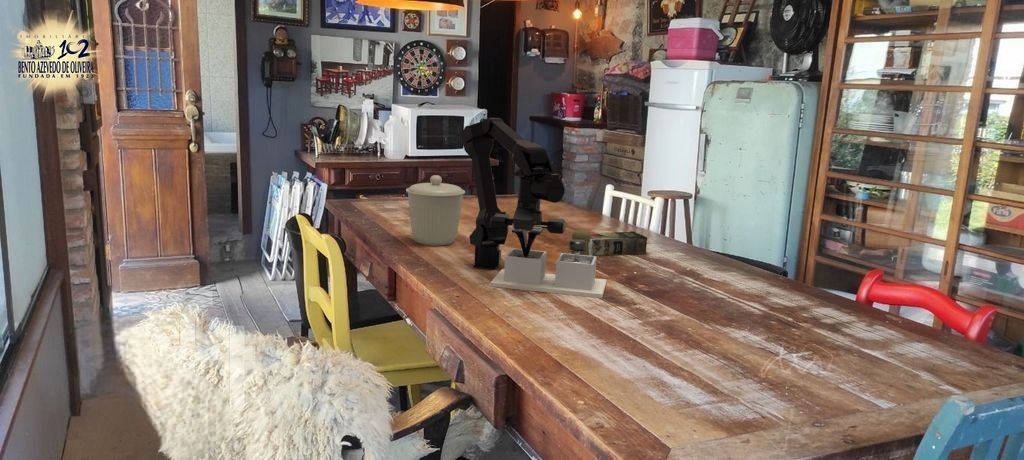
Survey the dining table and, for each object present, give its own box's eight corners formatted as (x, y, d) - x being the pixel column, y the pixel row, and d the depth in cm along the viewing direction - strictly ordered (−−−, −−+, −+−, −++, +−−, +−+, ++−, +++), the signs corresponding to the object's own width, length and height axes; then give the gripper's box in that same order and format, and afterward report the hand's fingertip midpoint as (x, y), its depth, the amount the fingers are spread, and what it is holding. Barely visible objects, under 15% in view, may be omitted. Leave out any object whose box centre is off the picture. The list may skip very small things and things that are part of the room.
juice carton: (588, 257, 218) (589, 237, 217) (574, 250, 227) (575, 231, 226) (646, 256, 225) (648, 236, 224) (631, 249, 234) (632, 230, 233)
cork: (588, 272, 200) (591, 233, 198) (566, 270, 201) (569, 231, 199) (590, 267, 206) (593, 229, 204) (569, 265, 207) (572, 227, 205)
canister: (460, 250, 218) (463, 180, 214) (400, 247, 218) (401, 177, 214) (465, 237, 236) (468, 173, 231) (409, 234, 236) (411, 170, 231)
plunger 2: (561, 265, 181) (562, 243, 180) (564, 259, 188) (566, 237, 187) (588, 267, 180) (590, 245, 179) (591, 261, 187) (592, 239, 185)
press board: (490, 286, 182) (491, 257, 181) (502, 272, 196) (503, 245, 194) (602, 298, 177) (604, 268, 176) (606, 283, 191) (608, 255, 189)
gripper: (485, 197, 177) (483, 260, 180) (561, 204, 174) (557, 267, 177) (495, 191, 188) (493, 250, 191) (567, 197, 184) (563, 257, 188)
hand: (526, 256), depth 186 cm, fingers closed, pressing on plunger 1
